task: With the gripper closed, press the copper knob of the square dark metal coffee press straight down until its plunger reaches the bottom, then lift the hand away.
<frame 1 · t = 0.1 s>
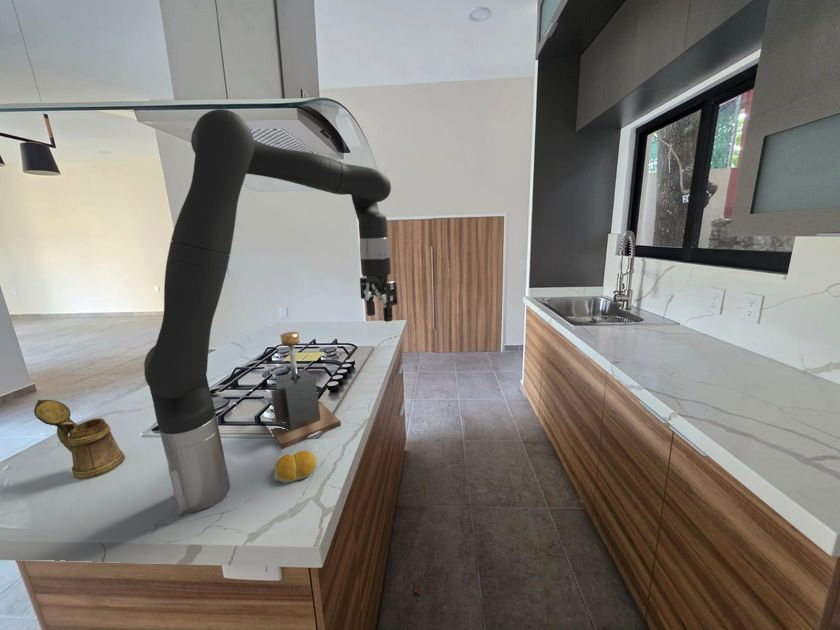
hand: (379, 318, 91), 29 cm above the countertop, tool pointing down, fingers open, 8 cm apart
wooden mug: (91, 467, 81), on the countertop
serving board: (301, 424, 96), on the countertop
plunger: (293, 359, 91), point 19 cm above the countertop, slide at 0.0 cm
bread roll: (295, 472, 77), on the countertop
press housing: (294, 400, 93), on the serving board, point 8 cm above the countertop
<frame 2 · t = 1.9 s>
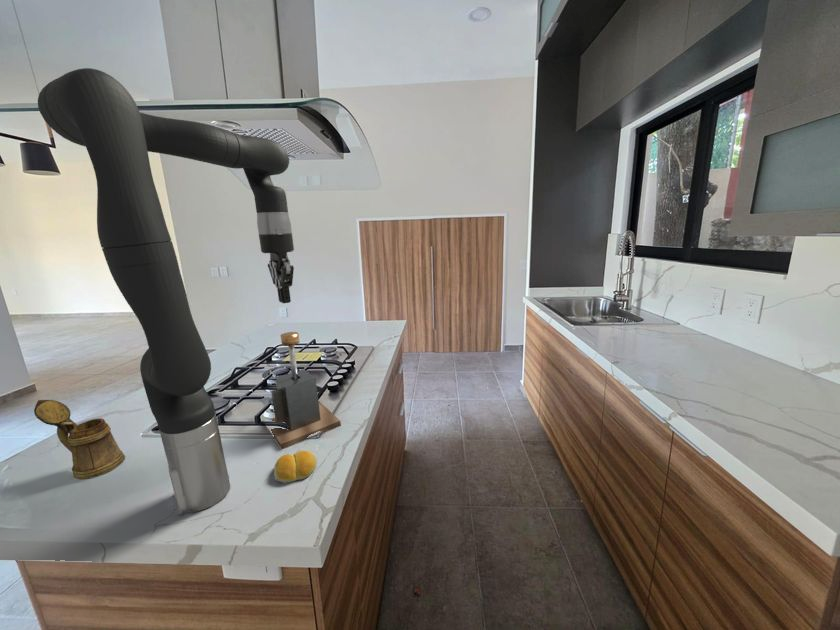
hand: (285, 302, 87), 35 cm above the countertop, tool pointing down, fingers closed
nothing on the countertop moved.
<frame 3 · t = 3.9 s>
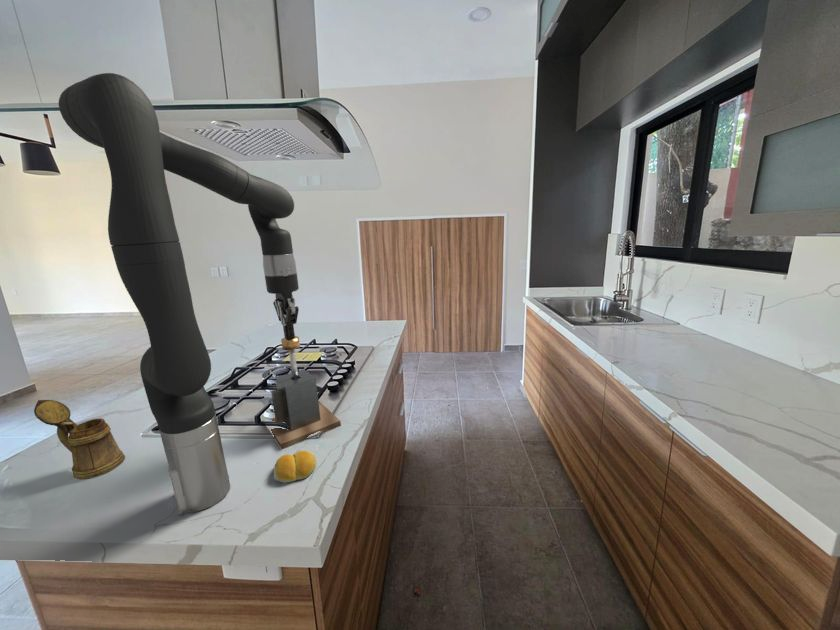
hand: (290, 338, 90), 25 cm above the countertop, tool pointing down, fingers closed
plunger: (293, 363, 91), point 18 cm above the countertop, slide at 1.2 cm, touching gripper
everything else where it was.
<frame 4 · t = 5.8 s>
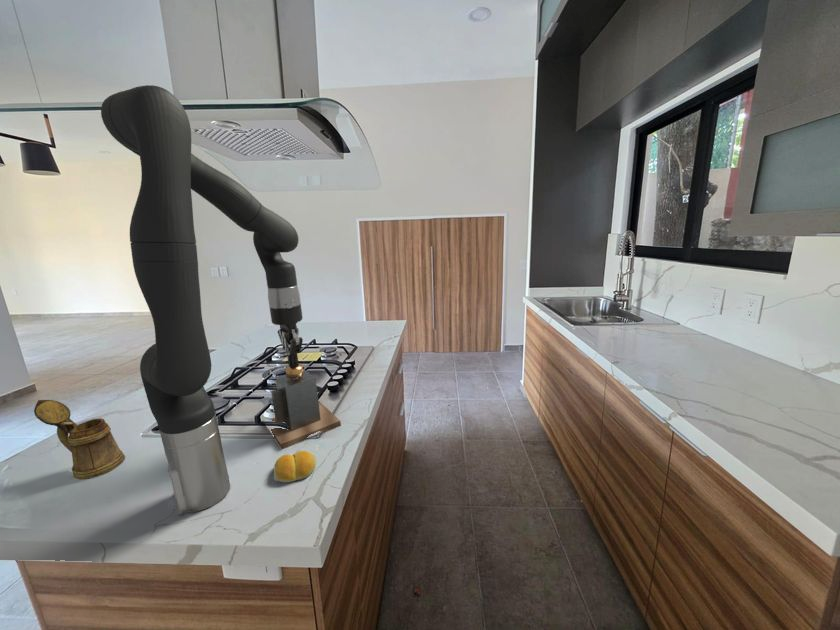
hand: (293, 366, 91), 17 cm above the countertop, tool pointing down, fingers closed
plunger: (297, 391, 93), point 10 cm above the countertop, slide at 9.1 cm, touching gripper
everything else where it was.
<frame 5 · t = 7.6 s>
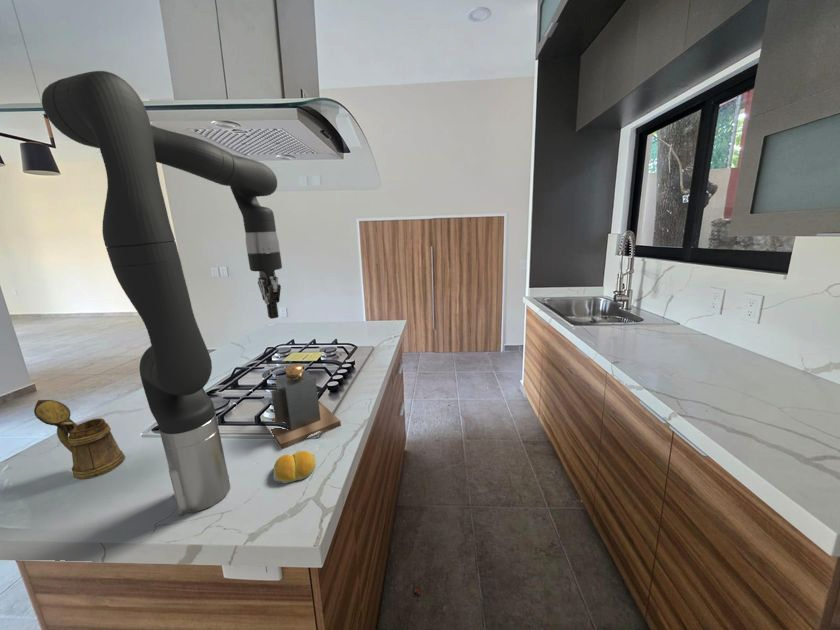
hand: (273, 317, 90), 31 cm above the countertop, tool pointing down, fingers closed
plunger: (297, 391, 93), point 10 cm above the countertop, slide at 9.1 cm
everything else where it was.
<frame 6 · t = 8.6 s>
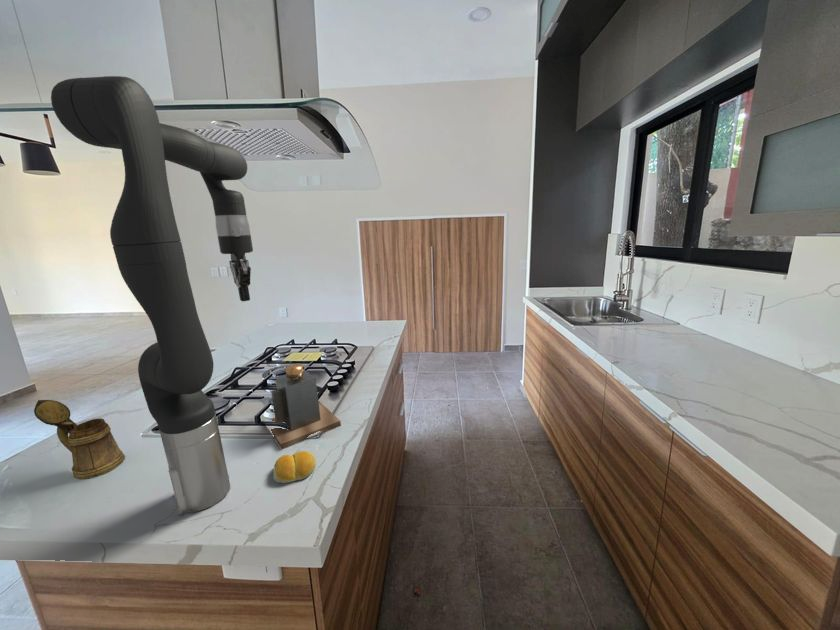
hand: (245, 300, 91), 35 cm above the countertop, tool pointing down, fingers closed
nothing on the countertop moved.
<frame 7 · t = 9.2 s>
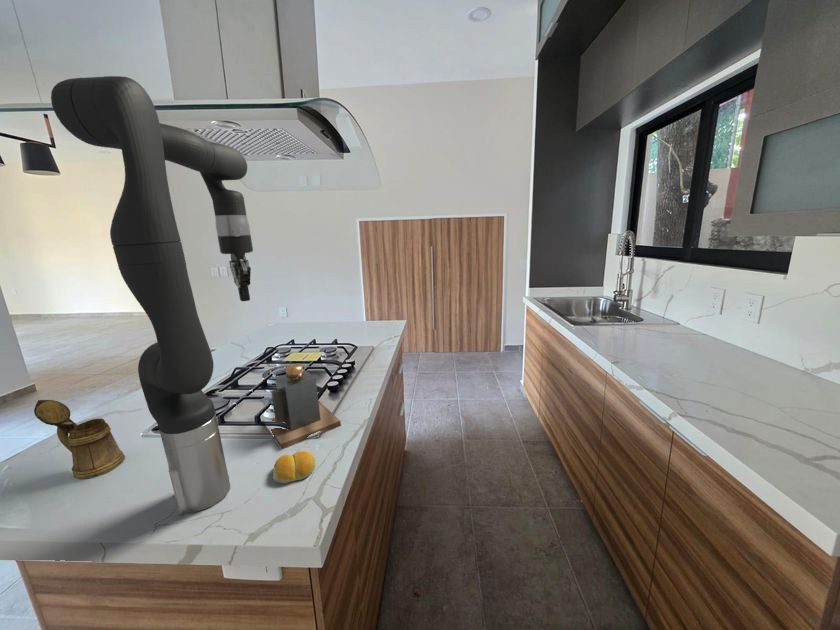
hand: (245, 300, 91), 35 cm above the countertop, tool pointing down, fingers closed
nothing on the countertop moved.
at the end: plunger slide at 9.1 cm; bread roll moved 0.5 cm from its start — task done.
